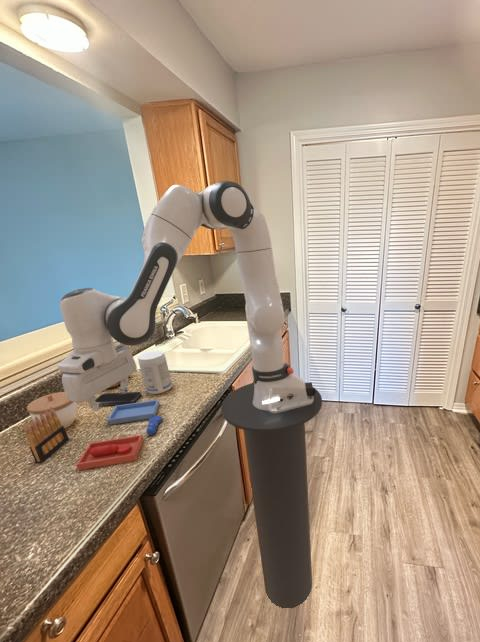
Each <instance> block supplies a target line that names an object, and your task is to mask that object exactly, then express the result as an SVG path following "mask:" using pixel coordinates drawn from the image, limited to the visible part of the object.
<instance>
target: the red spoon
mask: <svg viewBox="0 0 480 642" xmlns="http://www.w3.org/2000/svg"><path fill="white" fill-rule="evenodd" d="M131 450H132V448H131V445H130V444H123V445H121V446H118V445H117V444H111V445H104V446H98V447H94V448H92V449H91V451H90V454H91V455H92V456H102V455H108V454H114V453H116V452H117V453H118V454H119V455H124V454H127V453H129V452H130V451H131Z"/></svg>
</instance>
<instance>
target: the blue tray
mask: <svg viewBox="0 0 480 642" xmlns="http://www.w3.org/2000/svg"><path fill="white" fill-rule="evenodd" d="M160 405H161V404H160V401H159V399H153V400H147V401H146V400H145V401H139V402H135V403H132V404H124V405H114V408H113V410H112V411H111V413H110V415H109V416H108V418H107V419H106V421H107V424H108V426H113V425H117V424H119V425H120V424H125V423H131V422H139V421H144V420H150V419H151V418H152V417H155V416H157V414H158V410H159V407H160Z"/></svg>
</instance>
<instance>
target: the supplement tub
mask: <svg viewBox="0 0 480 642" xmlns="http://www.w3.org/2000/svg"><path fill="white" fill-rule="evenodd" d="M137 360H138V365H139V369H140V373H141V376H142V379H143V383H144V386H145V389H146V392H147V393H148V394H150V395H158V394H163V393H166V392H167V391H169V390H170V389H172V386H173V382H172V378H171V374H170V370H169V366H168V362H167V358H166V355H165V352H164V351H162V350H151V351H146V352H143V353H140V354H139V355H138V356H137Z"/></svg>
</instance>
